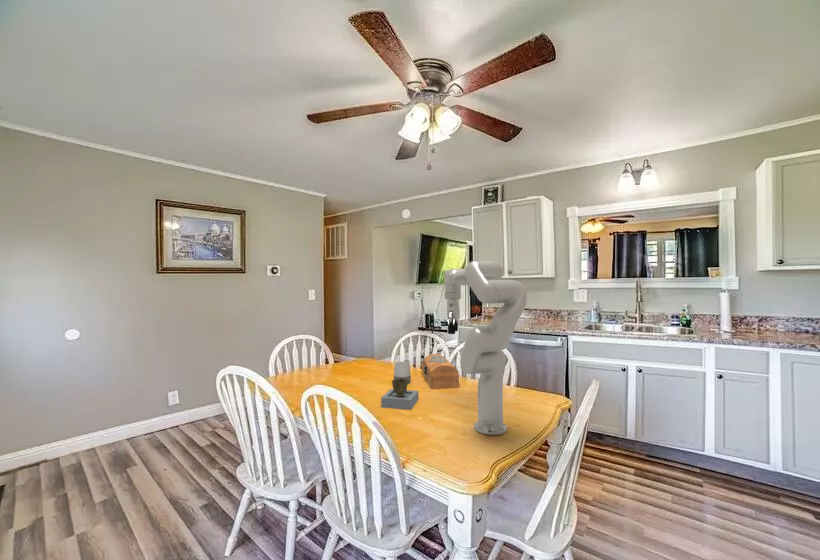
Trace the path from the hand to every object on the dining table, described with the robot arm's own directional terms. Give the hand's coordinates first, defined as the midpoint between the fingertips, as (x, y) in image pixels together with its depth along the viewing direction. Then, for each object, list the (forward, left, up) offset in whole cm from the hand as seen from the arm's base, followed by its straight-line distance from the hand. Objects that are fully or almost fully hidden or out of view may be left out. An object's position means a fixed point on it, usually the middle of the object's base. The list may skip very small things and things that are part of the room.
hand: (453, 332), depth 174 cm
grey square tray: (-7, +24, -34) cm, 42 cm away
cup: (-7, +24, -30) cm, 39 cm away
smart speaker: (+24, +32, -34) cm, 52 cm away
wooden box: (+32, +13, -34) cm, 49 cm away
